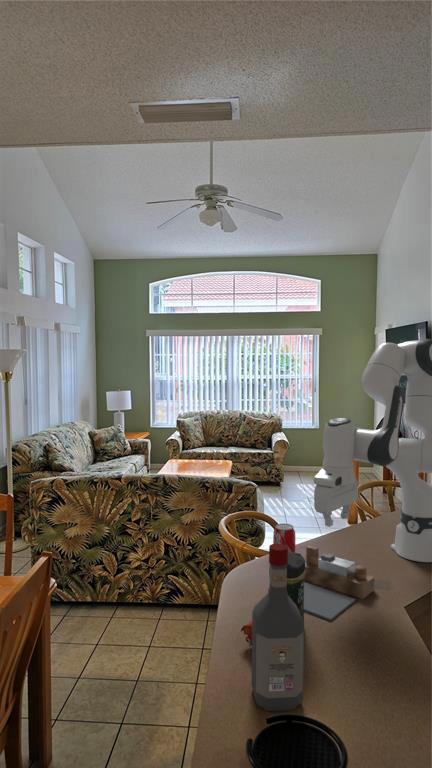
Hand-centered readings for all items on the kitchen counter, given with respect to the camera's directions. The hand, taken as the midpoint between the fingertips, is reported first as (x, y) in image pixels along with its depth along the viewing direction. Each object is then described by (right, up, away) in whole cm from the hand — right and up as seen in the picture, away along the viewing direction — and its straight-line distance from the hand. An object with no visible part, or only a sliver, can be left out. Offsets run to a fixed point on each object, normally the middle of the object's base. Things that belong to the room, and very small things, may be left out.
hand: (336, 522), depth 151 cm
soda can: (-13, -18, +17) cm, 28 cm away
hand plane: (0, -19, +1) cm, 19 cm away
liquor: (-23, -22, -49) cm, 58 cm away
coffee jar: (-18, -20, -24) cm, 36 cm away
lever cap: (0, -15, +1) cm, 15 cm away
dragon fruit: (-24, -21, -32) cm, 45 cm away
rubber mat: (-8, -19, -9) cm, 23 cm away
